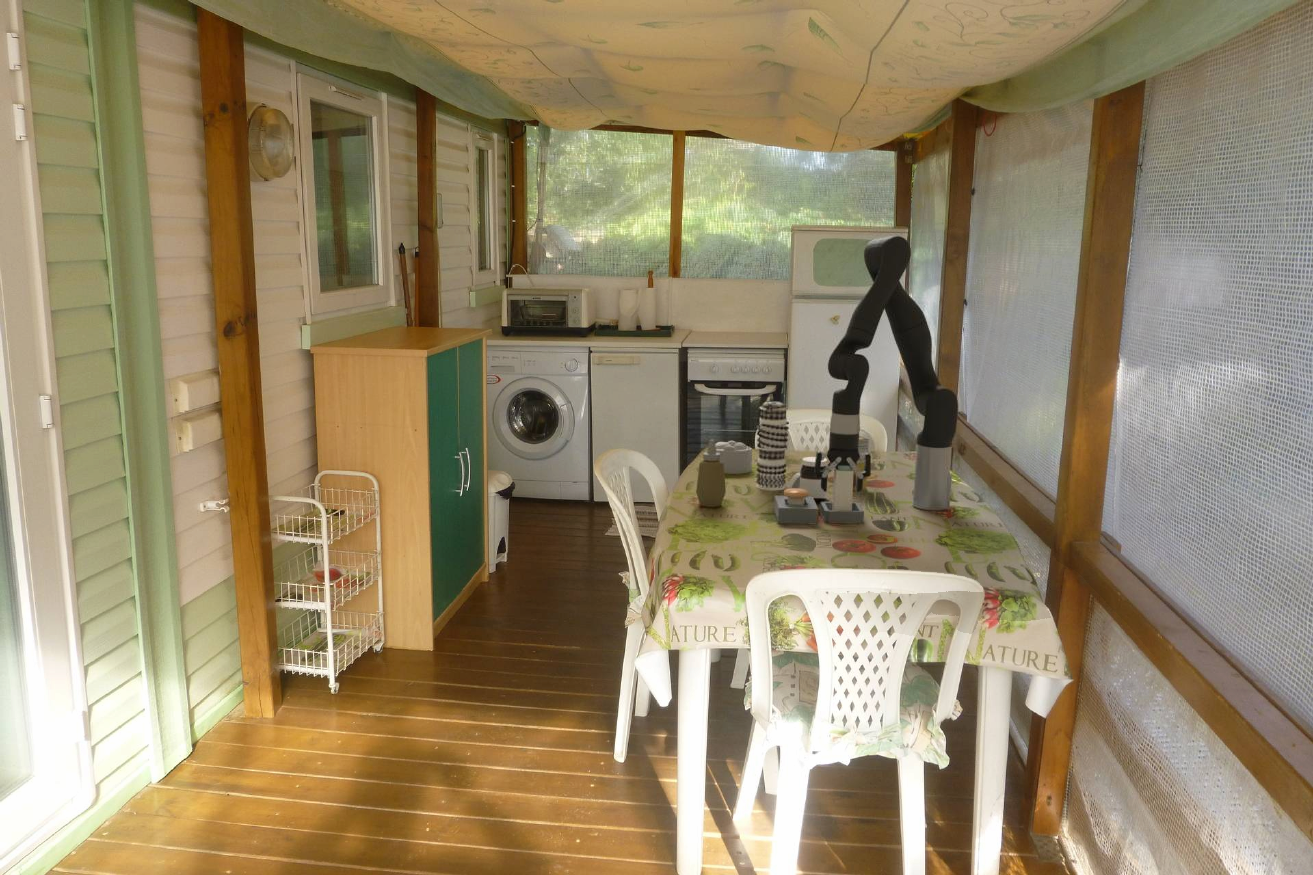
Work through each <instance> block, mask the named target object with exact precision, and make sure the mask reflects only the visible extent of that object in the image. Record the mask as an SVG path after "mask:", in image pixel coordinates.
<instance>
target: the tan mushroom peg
mask: <svg viewBox="0 0 1313 875" xmlns="http://www.w3.org/2000/svg"><path fill="white" fill-rule="evenodd" d="M783 496H786V497H788V501H787V505H804V501H805V497H808V496H809V491H807V490H804V489H797V488H791V489H787V488H785V489H783Z"/></svg>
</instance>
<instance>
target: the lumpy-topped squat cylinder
mask: <svg viewBox="0 0 1313 875" xmlns="http://www.w3.org/2000/svg"><path fill="white" fill-rule="evenodd" d="M715 447H716V452H718V453H720V461H722V462H723V463H724V474H732V475H734V474H739V475H740V474H746V473H747V474H748V473H751V472H752V471H753V470H752V468H753V467H752V465H753V464H752V462H753V448H752V447H750V446H747V445H746V444H745V443H743V442H737V441H734V440H728V441H727V442H726V441H718V442H715Z"/></svg>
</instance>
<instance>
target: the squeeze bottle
mask: <svg viewBox="0 0 1313 875" xmlns="http://www.w3.org/2000/svg"><path fill="white" fill-rule="evenodd" d="M715 444H716V442H715V439H710V440H709V442H708V446H707V450H706V451H705V452H703V453H702V460H701V461H699V466H698V473H697V482H696V488H695V489H696V490H695V494H696V496H697V500H698V503H699V505H700V506H702V507H706V508H707V507H708V508H716V507H720V506H722V504H723V501H724V499H725V496H726V492H727V491H726V479H725V473H724V463H723V462H722V461H720V453H718V452H716V447H715Z"/></svg>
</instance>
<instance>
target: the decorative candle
mask: <svg viewBox="0 0 1313 875" xmlns="http://www.w3.org/2000/svg"><path fill="white" fill-rule="evenodd" d="M759 410H760V412H759V413H760V415H759V424H758V425H757V426H756V427H757V433H756V435H757V436H758V438H757V446H756V447H757V449H758V461H757V463H756V466H757V468H756V472H758V473H756V482H755V483H757V484H756V488H757V489H759V490H763V491H770V492H771V491H772V492H773V491H784V490H786V484H787V481H786V478H787V476H786V474H785V473H786V472H787V469H786V468H787V464H786V456H785V455H786V450H787V449H788V446H787V445H786V444H785V443H786V442H788V441H789V438H787V437H788V436H789V433H787V432H786V430H789V429H790V428H789V426H788V425H789V424H790V423H789V421H787V420H788V419H787V410H788V407H787V406H786V405H785V404H784V403H783V402H781V401H766V402H763V403H762V405H761V406H759Z"/></svg>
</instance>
